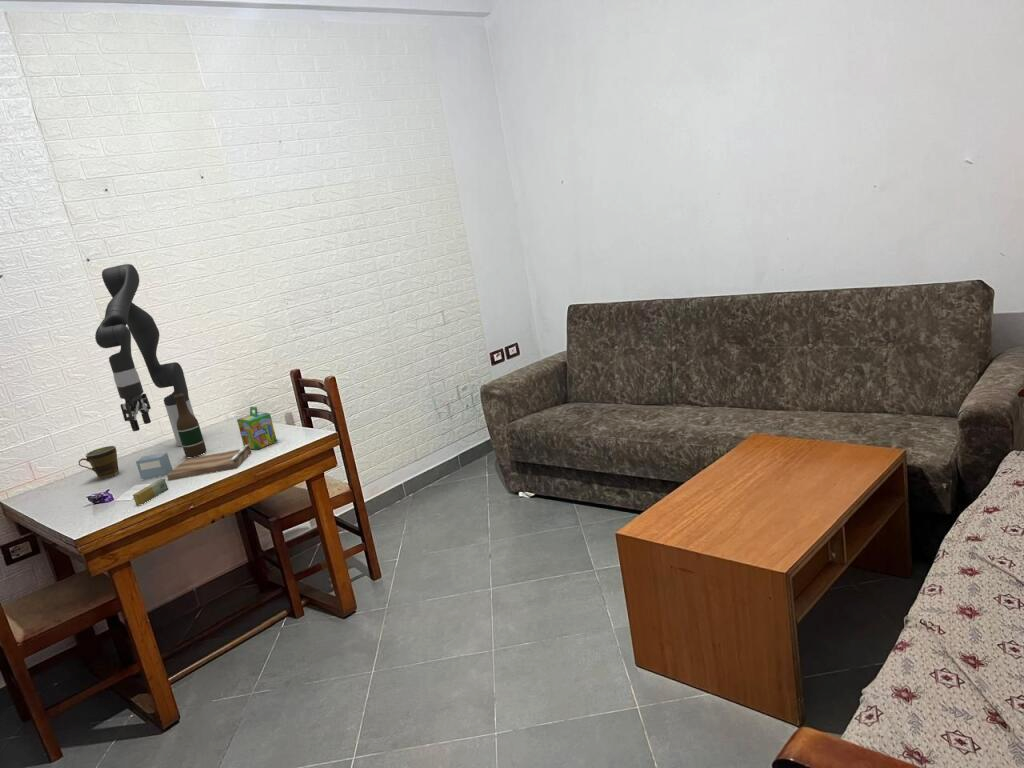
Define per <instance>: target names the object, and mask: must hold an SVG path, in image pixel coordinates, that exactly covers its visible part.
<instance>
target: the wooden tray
mask: <svg viewBox="0 0 1024 768" xmlns="http://www.w3.org/2000/svg"><path fill="white" fill-rule="evenodd" d="M251 452H252V449H250V448H249V445H245V446H244V445H243V447H241V448H240V449H235V450H229V451H224V452H217V453H212V454H208V455H201V456H198V457H194V458H185V459H184V460H183V461H182V462H180V463H179V464H178V465H177V466H176V467H174V468H172V471H171V472H170V473H169V474H167V476H166V477H167V481H173V480H179V479H184V478H189V476H191V477H195V475H196V476H200V474H202V475H205V474H204V473H207V474H211V473H210V472H213V473H217V472H216V471H219V472H222V471H221V470H224V471H228V470H227V469H230V470H233V469H234V468H235V469H237V468H238V467H239V466H240V465H241V464H242V463H243V462H244V461H246V459H248V457H249V456H250V455H251V454H252V453H251ZM250 453H251V454H250ZM249 454H250V455H249ZM248 455H249V456H248ZM235 469H234V470H235Z"/></svg>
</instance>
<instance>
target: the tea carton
mask: <svg viewBox="0 0 1024 768" xmlns="http://www.w3.org/2000/svg"><path fill="white" fill-rule="evenodd" d="M135 463H136V466H137V470H138V472H139V475H140V478H141V480H142V479H144V480H148V479H147V478H150V479H154V478H153V477H155V478H160V477H159V476H161V477H166V476H165V475H167V474H169V473H170V472H171V471H172V470H173V467H172V464H171V460H170V457H169V453H168V452H163V453H162V452H160V453H156V454H155V453H154V454H150V455H146V456H141V457H140V458H139V459H137V460H136V461H135Z"/></svg>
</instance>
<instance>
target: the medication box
mask: <svg viewBox="0 0 1024 768" xmlns="http://www.w3.org/2000/svg"><path fill="white" fill-rule="evenodd" d="M168 490H169V487H168V484H167V482H166V479H165V478H160V479H157V480H156V481H154V482H152V483H150V484H148V485H147V486H145V487H144V488H142V489H140V490H138V491H137V492H135V493H133V494H132V497H133V499H134V502H135V506H140V505H139V504H143V505H145V504H146V503H148V502H150V501H152V500H153V499H155V498H156V496H157V497H158V496H160V495H162V494H163V493H165V492H166V491H168ZM161 493H162V494H161ZM159 494H160V495H159ZM154 497H155V498H154ZM152 498H153V499H152ZM151 499H152V500H151ZM149 500H150V501H149ZM147 501H148V502H147ZM145 502H146V503H145ZM144 503H145V504H144Z"/></svg>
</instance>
